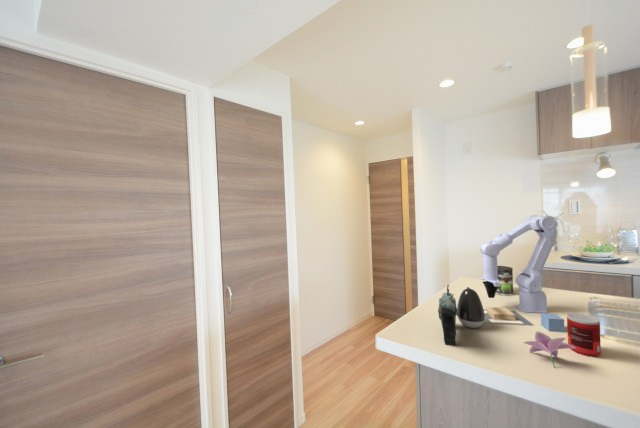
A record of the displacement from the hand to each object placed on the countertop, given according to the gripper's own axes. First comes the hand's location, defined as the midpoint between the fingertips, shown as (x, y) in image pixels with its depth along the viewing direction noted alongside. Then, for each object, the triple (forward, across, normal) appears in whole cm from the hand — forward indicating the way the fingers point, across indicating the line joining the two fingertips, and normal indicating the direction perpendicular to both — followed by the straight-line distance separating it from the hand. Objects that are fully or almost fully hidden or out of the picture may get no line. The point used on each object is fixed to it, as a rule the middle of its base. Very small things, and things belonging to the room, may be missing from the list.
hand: (491, 297), depth 123 cm
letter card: (+6, +9, 0) cm, 11 cm away
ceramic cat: (+6, +29, -26) cm, 39 cm away
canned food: (+6, +35, +14) cm, 38 cm away
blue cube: (+6, +19, +14) cm, 24 cm away
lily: (+6, +43, 0) cm, 43 cm away
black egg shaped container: (+6, +19, -15) cm, 25 cm away
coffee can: (+6, -26, +15) cm, 31 cm away
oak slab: (+6, +9, 0) cm, 11 cm away
